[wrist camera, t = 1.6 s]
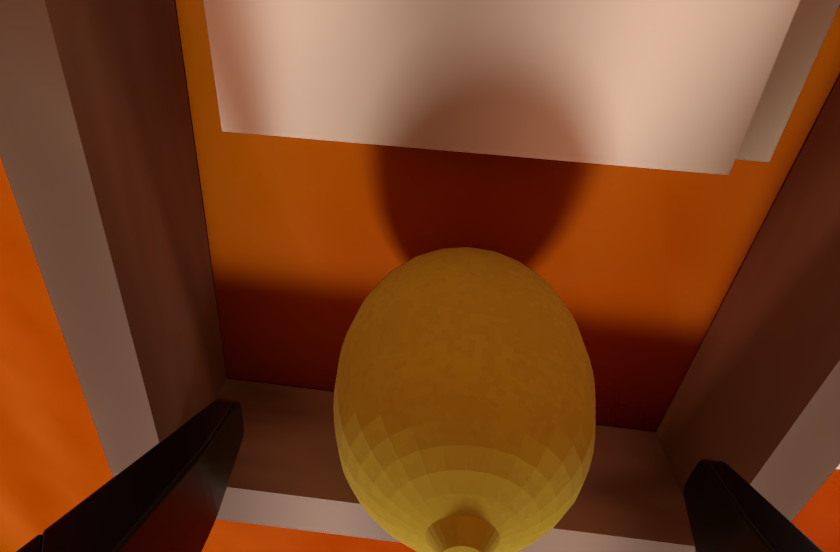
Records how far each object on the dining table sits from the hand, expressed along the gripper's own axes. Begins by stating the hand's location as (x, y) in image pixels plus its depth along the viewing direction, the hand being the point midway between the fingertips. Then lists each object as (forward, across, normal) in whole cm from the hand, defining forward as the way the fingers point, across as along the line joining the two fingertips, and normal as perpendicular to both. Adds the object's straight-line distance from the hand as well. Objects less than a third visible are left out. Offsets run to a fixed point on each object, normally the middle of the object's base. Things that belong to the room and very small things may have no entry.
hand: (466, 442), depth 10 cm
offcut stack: (+6, 0, -7) cm, 9 cm away
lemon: (+6, 0, 0) cm, 6 cm away
